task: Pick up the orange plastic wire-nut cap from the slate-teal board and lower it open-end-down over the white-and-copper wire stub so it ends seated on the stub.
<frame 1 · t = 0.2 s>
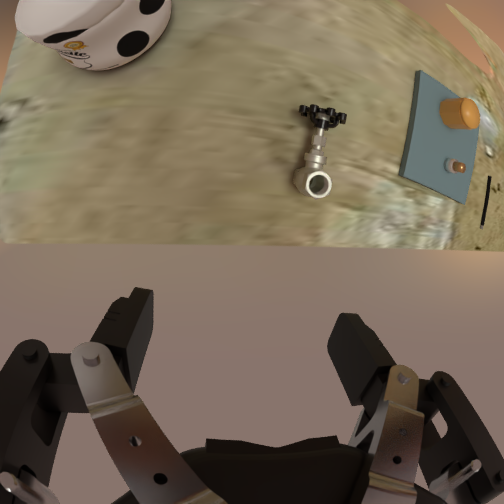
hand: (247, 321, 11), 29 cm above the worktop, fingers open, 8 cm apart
electrical cable: (484, 201, 42), on the worktop
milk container: (121, 28, 26), on the worktop
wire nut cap: (449, 113, 33), point 1 cm above the worktop, touching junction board
valve: (308, 152, 37), on the worktop
wire stub: (442, 163, 38), resting on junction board
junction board: (443, 139, 36), on the worktop
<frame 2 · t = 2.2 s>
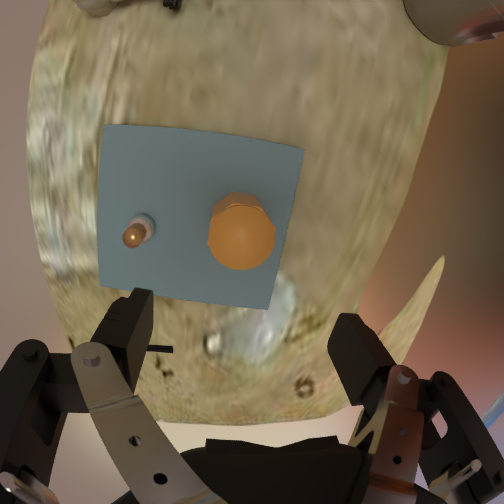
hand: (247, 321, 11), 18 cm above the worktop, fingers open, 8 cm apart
electrical cable: (132, 343, 34), on the worktop
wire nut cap: (238, 219, 27), point 1 cm above the worktop, touching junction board
valve: (134, 2, 17), on the worktop
wire stub: (147, 221, 27), resting on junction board
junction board: (189, 217, 28), on the worktop
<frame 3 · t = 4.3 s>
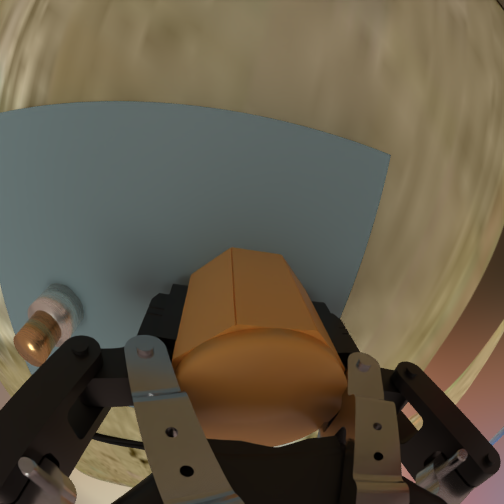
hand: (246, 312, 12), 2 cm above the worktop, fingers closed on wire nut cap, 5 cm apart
electrical cable: (96, 430, 19), on the worktop
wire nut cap: (245, 303, 12), point 2 cm above the worktop, touching gripper, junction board
wire stub: (75, 291, 13), resting on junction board
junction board: (145, 289, 13), on the worktop
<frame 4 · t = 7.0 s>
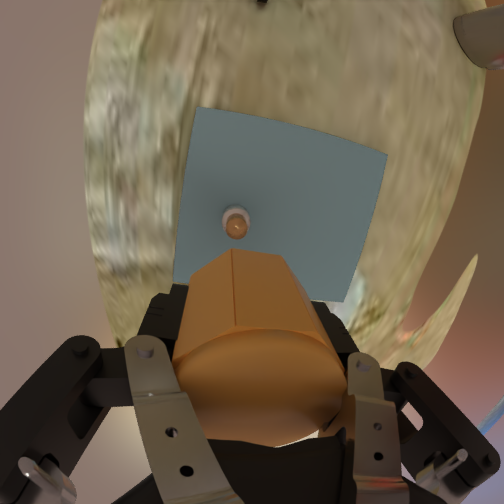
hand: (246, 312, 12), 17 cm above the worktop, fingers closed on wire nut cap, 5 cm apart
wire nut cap: (245, 304, 12), point 17 cm above the worktop, touching gripper
wire stub: (235, 213, 28), resting on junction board
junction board: (279, 211, 28), on the worktop
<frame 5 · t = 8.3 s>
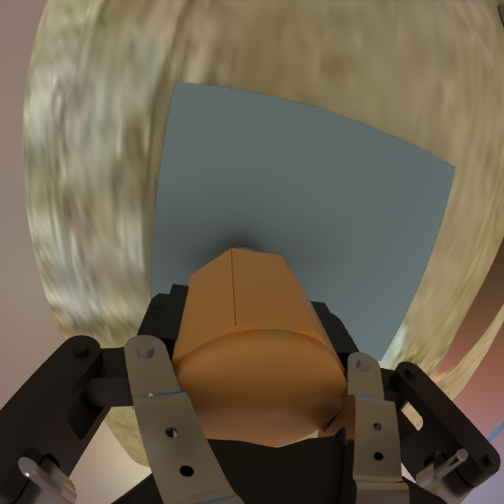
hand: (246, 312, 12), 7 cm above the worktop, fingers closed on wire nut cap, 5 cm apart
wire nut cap: (245, 304, 12), point 6 cm above the worktop, touching gripper
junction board: (307, 249, 18), on the worktop
when the fingers open (3 cm above the worktop, at t = 9.5 s): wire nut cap stays where it is, resting on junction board.
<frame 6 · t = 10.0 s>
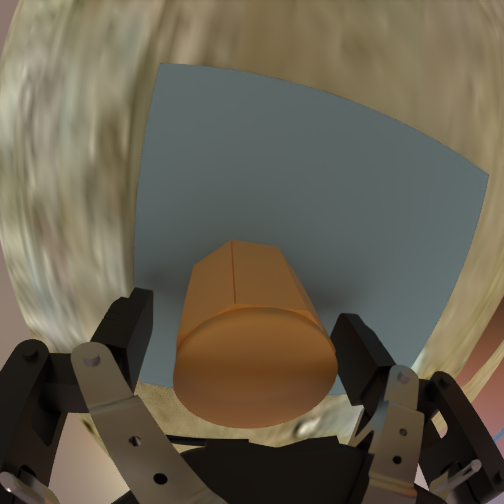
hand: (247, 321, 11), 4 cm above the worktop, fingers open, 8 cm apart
electrical cable: (185, 434, 21), on the worktop
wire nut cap: (244, 292, 13), point 1 cm above the worktop, touching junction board
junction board: (324, 272, 15), on the worktop
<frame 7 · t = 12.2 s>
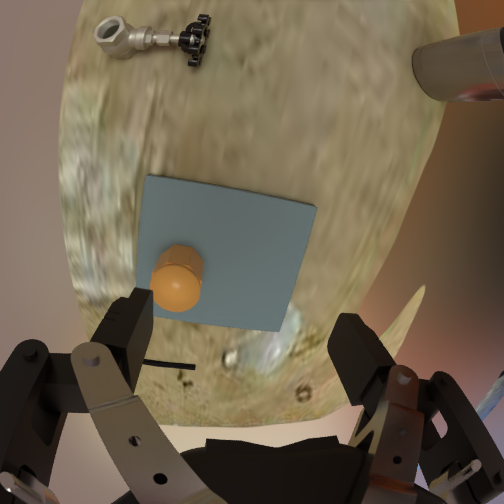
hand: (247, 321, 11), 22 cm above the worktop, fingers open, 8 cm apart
electrical cable: (158, 360, 39), on the worktop
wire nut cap: (181, 265, 32), point 1 cm above the worktop, touching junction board
valve: (156, 48, 23), on the worktop
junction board: (218, 259, 34), on the worktop
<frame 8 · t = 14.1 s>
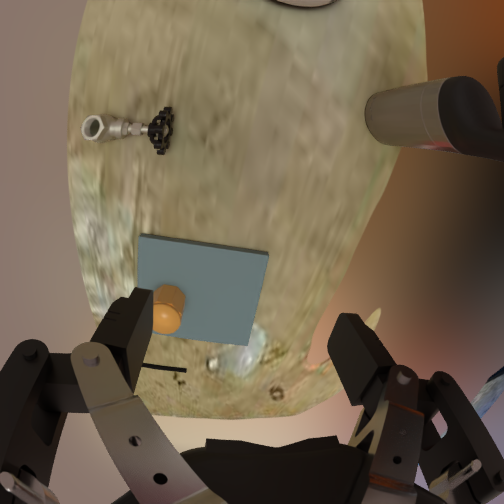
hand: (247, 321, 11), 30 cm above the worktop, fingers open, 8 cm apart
electrical cable: (158, 364, 51), on the worktop
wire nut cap: (169, 298, 43), point 1 cm above the worktop, touching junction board
valve: (134, 129, 34), on the worktop
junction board: (197, 293, 44), on the worktop
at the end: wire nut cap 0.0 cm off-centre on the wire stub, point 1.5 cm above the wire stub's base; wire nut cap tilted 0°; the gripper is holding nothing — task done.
